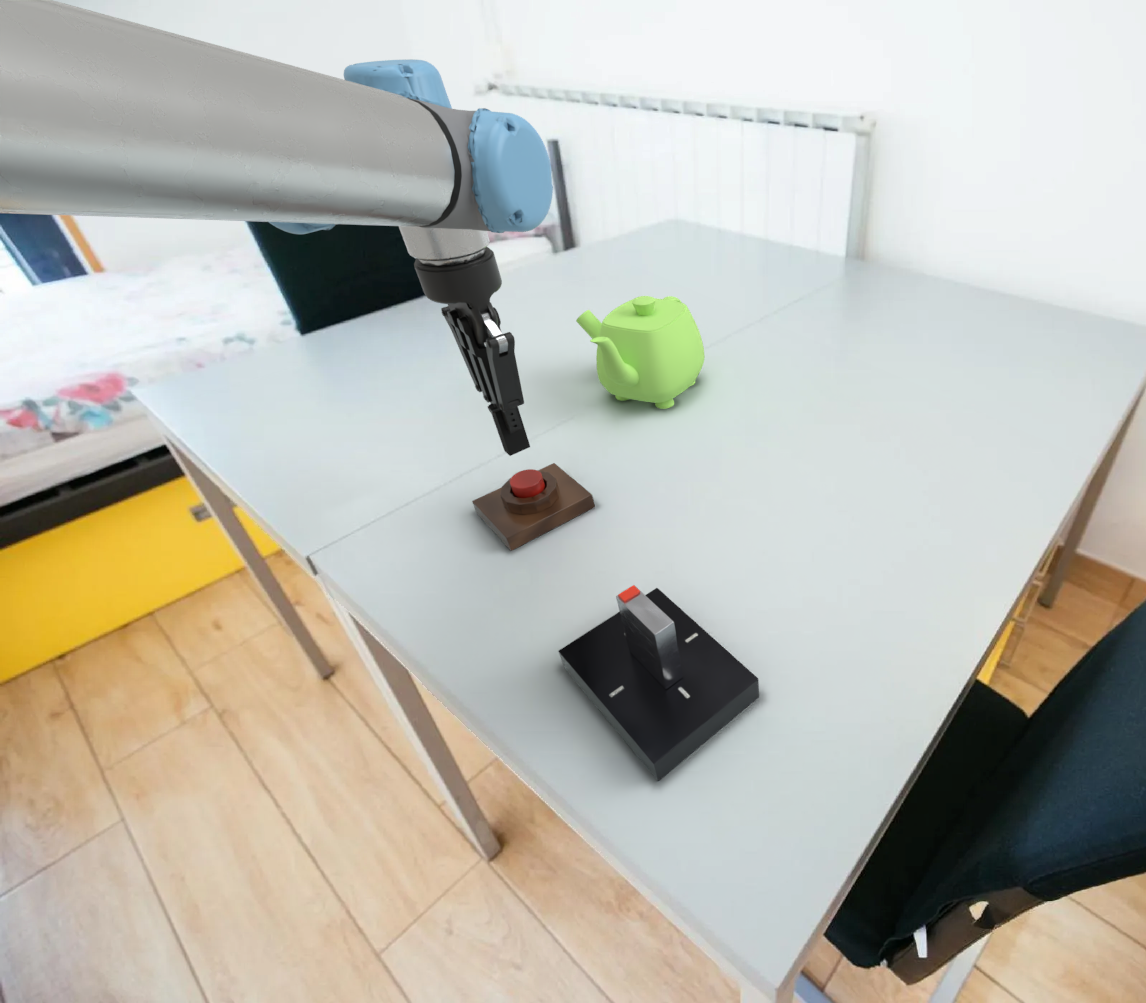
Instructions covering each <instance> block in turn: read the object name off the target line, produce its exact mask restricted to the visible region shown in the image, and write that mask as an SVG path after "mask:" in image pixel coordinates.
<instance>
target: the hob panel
mask: <svg viewBox="0 0 1146 1003" xmlns="http://www.w3.org/2000/svg"><path fill="white" fill-rule="evenodd" d="M644 595H645V596H647V597H648V598H649V599H650V600H651V601H652V602H653V603H654V604H655V605H656V606H657V607H658V608H659V609H661V610H662V611H663V612H664V613H665V614H666V615H667V616H668V617H669V618H670V619H671V620H672V621H673V622H674V625H675V632H676V638H677V644H678V650H679V656H680V662H681V668H682V674H683V677H682V678H681V679H680V680H678V681H677V682H676V683H674V684H673V685H672V686H670V687H669V688H668V689H665V688H664V687H663V686H662V685H661V684H660V683H659V682H658V681H657V680H656V679H655V678H654V677H653V676H652V674H651V673H650V672H649V671H648V670H647V669H646V668H645V667H644V666H643V665H642V664H641V663H640V662H639V661H638V660H637V659H636V658H635V657H634V656H633V655H632V654H631V653H630V651H629V648H628V644H627V639H626V635H625V631H624V627H623V623H622V619H621V615H620V611H618V612H616V613H615V614H613V615H612V616H610V617H609V618H607V619H606V620H604V621H602V622H601V623H599V624H598V625H596V626H595V627H593V628H592V629H590V630H588V631H586V632H585V633H584V634H582V635H581V636H579V637H577V638H576V639H574V640H573V641H571V642H570V643H568V644H567V645H564V646H563V647H562V648H560V649H558V651H557V652H558V655H559V657H560V660H561V663H562V666H563V668H564V670H565V671H566V672H567V674H568V675H569V676H570V677H571V679H572V680H573V681H574V682H575V683H576V684H577V685H578V687H579V688H580V689H581V691H582V692H583V693H584V694H585V696H587V698H588V699H589V700H590V701H591V702H592V704H593V705H594V706H595V707H596V708H597V710H598V711H599V712H600V713H601V714H602V716H603V717H604V718H605V719H606V720H607V722H608V723H609V724H610V725H611V726H612V728H613V729H614V730H615V731H616V732H617V734H618V735H619V736H620V737H621V739H622V740H623V741H624V742H625V744H627V746H628V747H629V748H630V749H631V751H632V752H633V753H634V754H635V755H636V757H637V758H638V759H639V760H640V762H641V763H642V764H643V765H644V766H645V767H646V769H647V771H649V772H650V774H651V775H652V776H653V777H654V778H655V779H656V781H657V782H660V781H661V780H662V779H663V778H665V777H666V776H667V775H668V774H669V773H670V772H671V771H673V770H674V769H675V768H676V767H677V766H679V765H680V764H681V763H682V762H683V761H685V760H686V759H687V758H688V757H690V755H691V754H693V753H694V752H695V751H697V750H698V749H699V748H700V747H701V746H703V745H704V744H705V743H706V742H708V740H710V739H711V738H712V737H713V736H715V735H716V734H717V733H718V732H719V731H721V730H722V729H723V728H724V727H725V726H727V724H729V723H730V722H731V721H732V720H733V719H735V718H736V717H737V716H738V715H740V713H742V712H743V711H744V710H746V709H747V708H748V707H749V706H750V705H751V704H752V703H754V702H755V701H756V700H757V699H759V697H760V686H759V684H760V683H759V682H760V681H759V677H757V675H755V674H754V673H753V672H752V671H751V670H749V669H748V668H747V667H746V666H745V665H744V664H743V663H741V661H740V660H738V659H737V658H736V657H735V656H734V655H733V654H732V653H730V651H728V650H727V649H726V648H725V647H724V646H723V645H721V643H719V642H718V641H717V640H716V639H715V638H714V637H713V636H712V635H711V634H709V632H707V631H706V630H705V629H704V628H703V627H702V626H700V625H699V624H698V623H697V622H696V621H695V620H694V619H693V618H692V617H691V616H689V615H688V614H687V613H686V612H685V611H684V610H683V609H682V608H680V606H679V605H677V603H675V602H674V601H673V600H672V599H670V598H669V596H667V595H666V594H665V593H664V592H663V591H662V590H660V589H659V588H658V587H656V588H654V589H652V590H651V591H649V592H648V593H646V594H644Z"/></svg>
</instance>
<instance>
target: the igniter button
mask: <svg viewBox="0 0 1146 1003" xmlns="http://www.w3.org/2000/svg"><path fill="white" fill-rule="evenodd" d="M510 478H511V479H510ZM510 478H509V479H510V485H511V488H512V491H513V494H514V495H515V496H516V497H518V498H529V497H533V496H535V495H538V494H540V493H542V491H543V490H544V488H545V483H544V480H543V477H542V474H541V473H540V472H539V471H537V469H532V468H531V469H530V468H529V469H523V470H520V471H517V472H515V474H513V475H512V476H511V477H510Z"/></svg>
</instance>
